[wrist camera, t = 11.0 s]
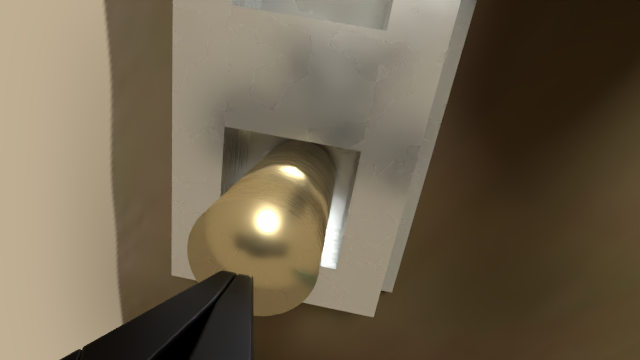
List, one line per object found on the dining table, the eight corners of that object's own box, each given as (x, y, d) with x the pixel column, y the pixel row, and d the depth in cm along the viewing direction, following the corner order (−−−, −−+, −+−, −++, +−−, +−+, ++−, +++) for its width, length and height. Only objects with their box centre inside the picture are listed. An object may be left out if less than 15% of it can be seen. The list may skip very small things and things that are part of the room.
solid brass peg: (341, 148, 16) (330, 213, 9) (328, 217, 17) (308, 327, 10) (265, 133, 16) (188, 186, 9) (258, 203, 18) (185, 301, 10)
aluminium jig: (523, -187, 12) (613, -325, 8) (390, 281, 20) (399, 340, 15) (199, -229, 13) (121, -379, 9) (187, 240, 20) (142, 285, 16)
